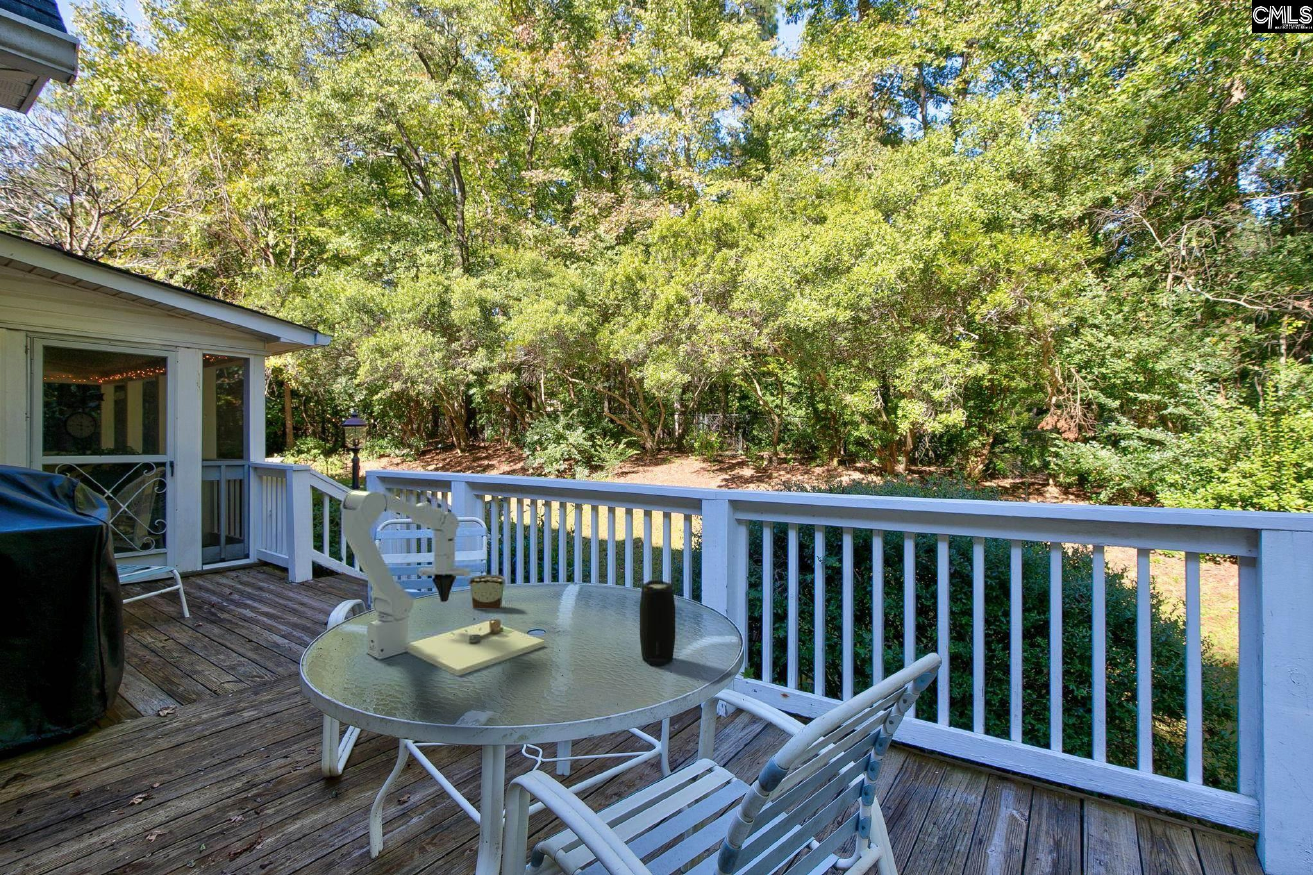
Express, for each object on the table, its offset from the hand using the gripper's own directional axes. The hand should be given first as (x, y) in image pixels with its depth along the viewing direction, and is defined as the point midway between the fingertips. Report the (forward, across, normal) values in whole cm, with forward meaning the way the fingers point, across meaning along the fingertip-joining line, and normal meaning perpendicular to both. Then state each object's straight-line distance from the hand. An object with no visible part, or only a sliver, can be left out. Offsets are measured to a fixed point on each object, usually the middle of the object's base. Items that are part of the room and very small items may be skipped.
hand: (444, 600), depth 170 cm
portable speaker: (+10, -63, +15) cm, 65 cm away
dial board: (+9, -13, +11) cm, 20 cm away
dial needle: (+8, -15, +6) cm, 18 cm away
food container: (+10, -3, -27) cm, 29 cm away
